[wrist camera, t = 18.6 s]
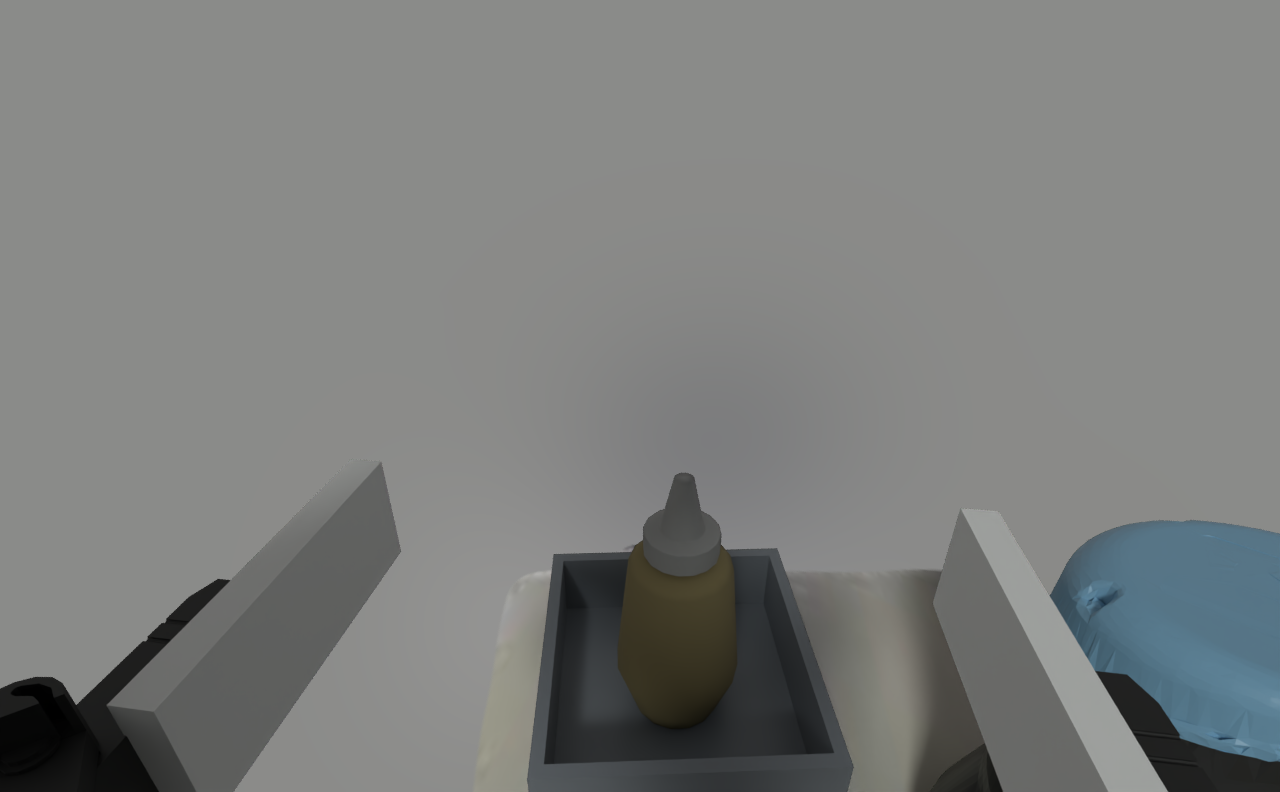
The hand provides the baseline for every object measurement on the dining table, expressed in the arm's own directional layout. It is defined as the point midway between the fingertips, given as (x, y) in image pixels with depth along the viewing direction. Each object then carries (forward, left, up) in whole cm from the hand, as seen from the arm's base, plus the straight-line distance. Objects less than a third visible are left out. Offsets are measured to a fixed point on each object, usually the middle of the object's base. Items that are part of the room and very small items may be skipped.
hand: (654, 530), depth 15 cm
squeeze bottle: (-11, -14, -29) cm, 34 cm away
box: (-11, -14, -30) cm, 35 cm away
